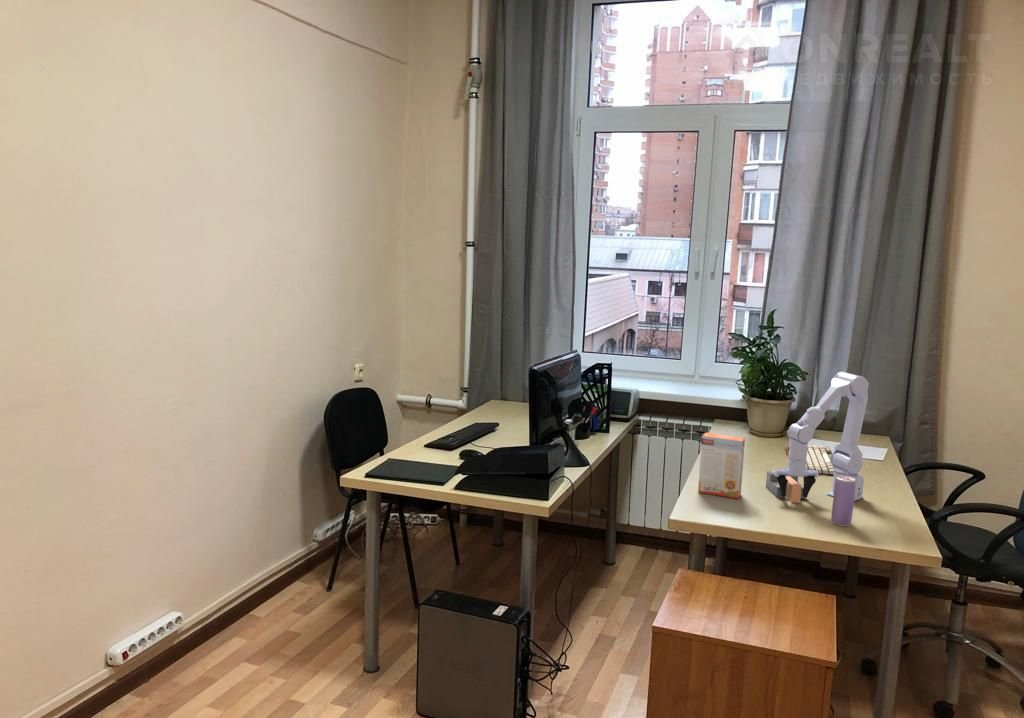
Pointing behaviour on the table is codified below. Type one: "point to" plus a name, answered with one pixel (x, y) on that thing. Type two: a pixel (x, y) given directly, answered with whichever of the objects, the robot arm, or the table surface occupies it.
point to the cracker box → (721, 465)
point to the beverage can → (843, 500)
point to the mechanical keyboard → (817, 459)
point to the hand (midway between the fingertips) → (793, 496)
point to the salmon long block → (793, 490)
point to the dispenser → (774, 485)
